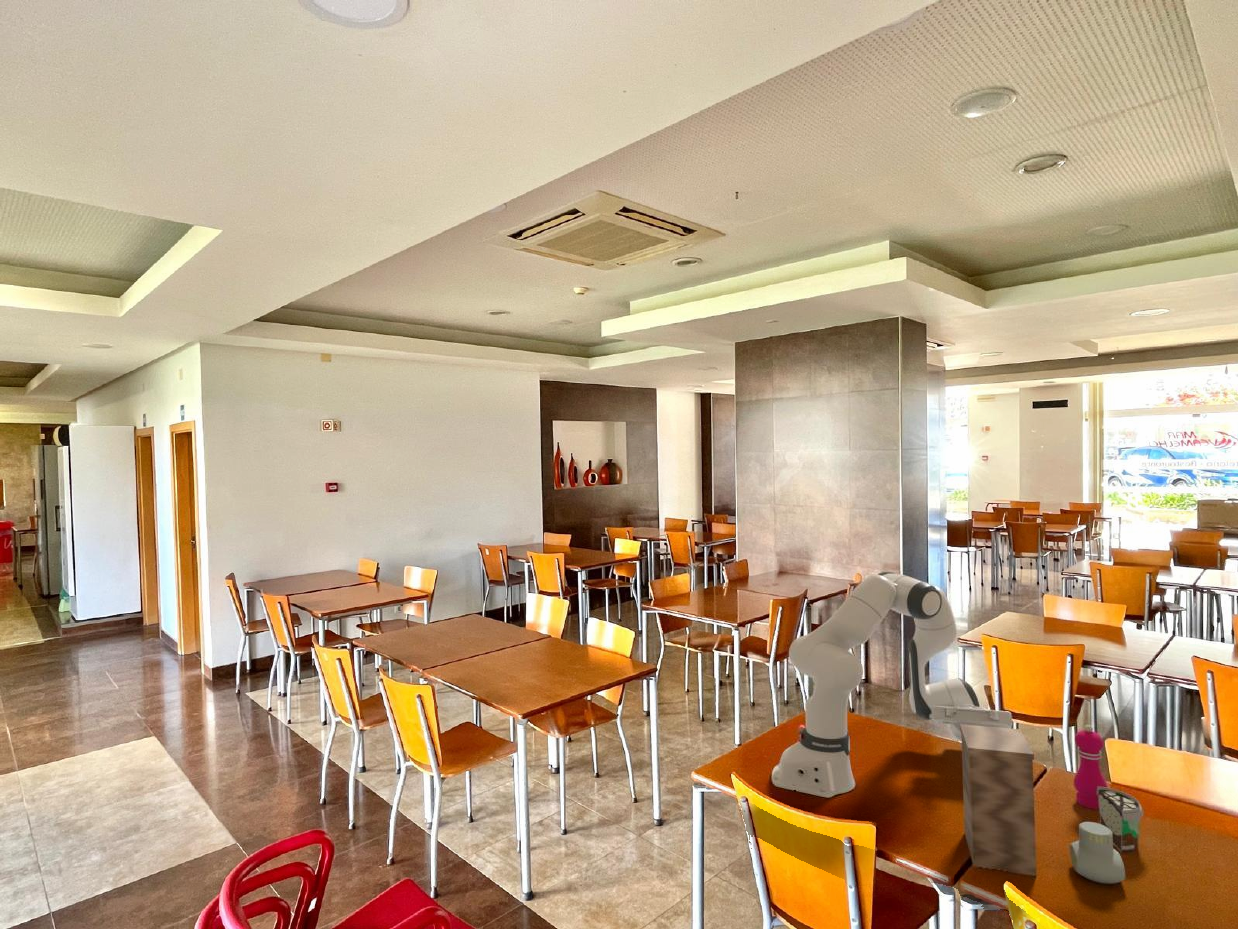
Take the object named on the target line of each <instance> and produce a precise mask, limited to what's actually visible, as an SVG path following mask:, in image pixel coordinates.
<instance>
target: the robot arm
mask: <svg viewBox="0 0 1238 929" xmlns="http://www.w3.org/2000/svg"><path fill="white" fill-rule="evenodd" d="M890 610H891V611H894V612H896V613H898V614H900V615H904V616H907V617H913V621H914V625H915V631H914V635H913V637H912V638H911V639H910V640H909V641H908V646H907V658H908V660H907V662H908V664H907V665H908V675H909V676H908V677H909V695H908V696H909V697H908V698H909V699H908V700H909V705H910V707H911V711H912V712H913V714H914V715H915V716H917V717H919V718H920V719H922V720H925V721H929V720H932V721H933V722H934V723H937V724H946V725H948V727H949V731H950V733H951V735H952V736H953V738H955V740H957V741H959V742H961V743H962V739H961V731H960V724H965V725H976V726H988V727H999V728H1010V729H1012V726H1013V715H1012V712H1010V711H1008V710H994V709H988V708H983V707H980V702H979V700H978V696H977V694H976V692H975V690H974V688H973V686H971V684H970V683H968V682H967V681H965V680H964V679H962V678H959V677H956V678H951V679H946V680H941V681H939V682H934V683H933V682H932V683H928V684H926V673H925V672H926V671H925V667H926V665H927V663H928V662H929V661H931V659H933V658H934V657H936V656H937V655H938V654H940V653H942V652H944V651H946V650H947V649H948V648H950V647H951V646H952V644H953V643H954V642H955V641H956V638H957V635H958V634H957V625H956V621H955V620H956V619H955V616H954V613H953V609H952V606H951V604H950V602H949V600H948V598H947V595H946V593H945V592H944V590H943V589H942V588H941V587H939V586H936V585H933V584H930V583H929V582H926V581H922V580H919V579H916V578H914V577H911V576H909V575H905V574H900V573H895V572H892V571H891V572H890V571H883V572H880V573H877V574H871V575H869V576H867V577H865V578H864V579H863V580H862V581H861V582H860V583H859V584H858V585H857V586H856V587H855V588H854V589H853V590H852V592H850V593H849V594H848V596H847V598H846V599H845V600H844V601H843V603H842V604H841V605H840V606H839V607H838V609H837V610H836V611H835V612H834V614H833V615H831V617H830V618H829V619H828V620H827V621H825V622H824V623H823V624H821V625H820V626H818V627H817V628H816V629H814V630H813V631H811V632H809V633H808V634H805V635H802V636H798V637H797V638H795V639H794V640H793V641H792V643H791V644H790V647H789V650H788V657H789V658H788V659H789V661H790V662H791V664H792V665H793V667H795V668H796V670H798V671H799V672H800V673H802V674H803V675H805V676H807V677H809V678H811V679H812V680H813V682H814V689H813V692H812V695H811V696H809V697H808V698H807V699H806V700H805V703H804V707H805V708H804V709H805V713H804V714H805V725H803V724H800V725H799V726H798V728H797V731H798V741H797V742H796V743H794V744H792V745H791V746H789V747H787V748H786V749H785V750H784V751H783V753H781V758H780V760H779V763H778V764H776V765H775V766H774V767H773V769H772V772H771V782H772V784H773V786H774V787H778V788H782V789H785V790H791V791H794V790H796V792H799V793H805V794H810V795H814V796H818V797H823V798H832V797H834V796H836V795H839V794H845V793H848V792H850V791H852V790H854V789H855V786H856V782H855V779H854V778H855V777H854V775H853V771H852V766H851V761H850V751H851V743H850V742H851V741H850V739H851V738H850V733H849V731H848V710H847V709H848V703H849V698H850V696H851V693H852V691H853V690H854V689H855V688H857V687H858V686H859V685H860V683H861V681H862V679H863V674H864V667H863V664H862V662H861V661H860V659H859V658H858V657H856V656H855V655H854V654H853V653H851V652H850V650H851V649H853V648H854V647H856V646H862V645H863V644H865V643H866V642H867V641H869V639H870V638H871V636H872V635H873V634H874V632H875V631H876V630H877V629H878V627H879V625H880V624H881V623H883V622H882V621H883V620H884V619H885V617H886V616H887V615H888V612H889V611H890Z"/></svg>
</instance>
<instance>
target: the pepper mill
mask: <svg viewBox="0 0 1238 929" xmlns="http://www.w3.org/2000/svg"><path fill="white" fill-rule="evenodd" d="M1093 730H1094V728H1093V726H1092V725H1090V724H1086V725H1084V729H1083V730H1079V731H1078V732H1076V733H1075V737H1074V742H1075V744H1076V745H1077V747H1078V748H1077V755H1078V756H1079V757H1080V763H1079V764H1080V765H1079V767H1078V769H1077V771H1076V773H1075V775H1074V778H1073V786H1074V789H1075V790H1076V791H1077V792H1076V794H1075V795H1076V796H1075V797H1076V802H1077V803H1078V804H1079V805H1080V806H1082V805H1083V807H1085V808H1088V809H1091V808H1094V809H1093V810H1099V800H1098V794H1097V789H1098V787H1106V788H1109V787H1108V784H1107V781H1106V779H1105V777H1104V775H1103V773H1102V772H1101V768H1100V759H1102V752H1101V751H1102V750H1103V748H1104V740H1103V738H1102V737H1101V735H1100V734H1099V733H1098V732H1095V731H1093Z"/></svg>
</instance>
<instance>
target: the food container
mask: <svg viewBox="0 0 1238 929" xmlns="http://www.w3.org/2000/svg"><path fill="white" fill-rule="evenodd" d="M1097 794H1098V800H1099V809H1098V810H1099V811H1098V812H1099V820H1100V821H1099V824H1101V825H1104V826H1106V827H1107V828H1109V829H1110V830H1111V831H1112V835H1113V846H1115V847H1116V848H1117V850H1118V851H1120V853H1122V854H1129V853H1134V852H1136V851H1137V850H1138V848H1139V837H1140V836H1139V832H1140V820H1141V819H1142V818H1143V817H1144V810H1143V807H1142V805H1141V804H1140V802H1139V800H1138V799H1137V798H1135V797H1134V796H1133V795H1131V794H1129V793H1126V792H1124V791H1121V790H1119V789H1114V788H1111V787H1108V788H1106V787H1098V789H1097Z"/></svg>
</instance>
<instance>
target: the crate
mask: <svg viewBox="0 0 1238 929" xmlns="http://www.w3.org/2000/svg"><path fill="white" fill-rule="evenodd" d="M960 731H961V739H962V742H961V761H962V762H961V763H962V768H961V769H962V790H963V791H962V793H963V794H962V795H963V796H962V797H963V823H964V835H965V840H966V843H967V847H968V851H969V856H970V858H971V862H972V865H973V868H979V867H982V869H986V868H988V869H987V870H992V869H1000V870H1006V871H1009V872H1008V873H1012V874H1013V873H1014V874H1020V875H1026V876H1034V877H1038V876H1037V851H1036V849H1037V848H1036V847H1037V846H1036V824H1035V823H1036V822H1035V821H1036V820H1035V817H1036V816H1035V794H1034V792H1035V790H1034V763H1033V762H1034V761H1033V760H1035V753H1034V751H1033V750H1032V748H1031V746H1030V745H1029V743H1028V741H1027V739H1026V737H1025V736H1024V734H1023V733H1022V731H1021V729H1019V728H999V727H988V726H976V725H965V724H960ZM1006 871H1005V872H1006Z"/></svg>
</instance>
